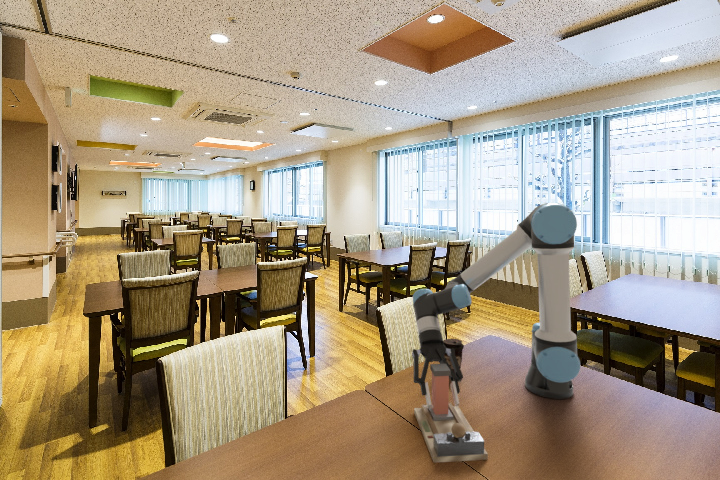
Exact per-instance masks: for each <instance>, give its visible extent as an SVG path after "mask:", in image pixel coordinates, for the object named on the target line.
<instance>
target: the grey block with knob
mask: <svg viewBox="0 0 720 480" xmlns="http://www.w3.org/2000/svg"><path fill="white" fill-rule="evenodd" d="M433 447H434V449H435V452H436V454H437V457H443V456H460V455H477V454H484V448H485V440H484V438H483V437H482V435H481V434H480V432H479V431H474V432H469V431H466V434H465V436H464V437H459V438H456V437H454V436H453V434H452V433H451V432H447V433H444V434H433Z"/></svg>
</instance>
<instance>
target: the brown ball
mask: <svg viewBox="0 0 720 480" xmlns="http://www.w3.org/2000/svg"><path fill="white" fill-rule="evenodd" d="M451 431H452V434H453V436H454V437H456V438H459V437H464V436H465V434H466V429H465V427H464V426H463V425H462V424H461V423H455V424H454V425H453V426H452V428H451Z"/></svg>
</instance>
